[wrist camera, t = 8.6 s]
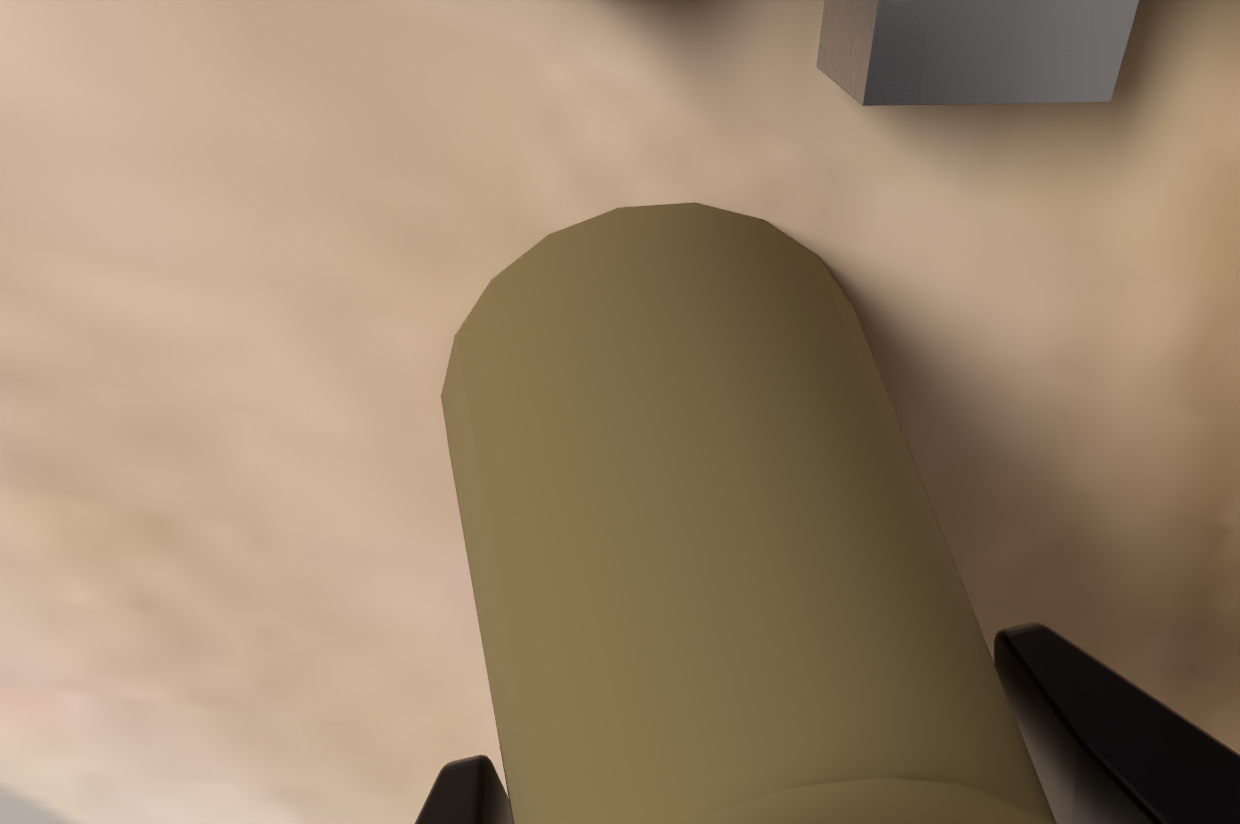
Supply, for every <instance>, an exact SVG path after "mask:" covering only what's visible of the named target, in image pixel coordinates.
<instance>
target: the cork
mask: <svg viewBox="0 0 1240 824" xmlns="http://www.w3.org/2000/svg"><path fill="white" fill-rule="evenodd" d="M441 398H442V405H443V412H444V418H445V425H446V432H447V438H448V445H449V452H450V458H451V464H452V470H453V475H454V481H455V487H456V493H457V499H458V504H459V510H460V516H461V522H462V528H463V534H464V539H465V545H466V551H467V557H468V563H469V569H470V574H471V580H472V586H473V592H474V598H475V604H476V609H477V615H478V621H479V627H480V633H481V638H482V644H483V650H484V656H485V662H486V668H487V673H488V679H489V685H490V691H491V697H492V703H493V708H494V714H495V720H496V726H497V732H498V738H499V743H500V749H501V755H502V761H503V767H504V772H505V778H506V784H507V790H508V796H509V802H510V807H511V813H512V819H513V824H1057V823H1056V821H1055V818H1054V815H1053V813H1052V810H1051V808H1050V805H1049V803H1048V800H1047V798H1046V795H1045V793H1044V790H1043V787H1042V785H1041V782H1040V780H1039V777H1038V775H1037V772H1036V770H1035V767H1034V765H1033V762H1032V759H1031V757H1030V754H1029V752H1028V749H1027V747H1026V744H1025V742H1024V739H1023V737H1022V734H1021V731H1020V729H1019V726H1018V724H1017V721H1016V719H1015V716H1014V714H1013V711H1012V709H1011V706H1010V703H1009V701H1008V698H1007V696H1006V693H1005V691H1004V688H1003V686H1002V683H1001V681H1000V678H999V675H998V673H997V670H996V668H995V665H994V663H993V660H992V658H991V655H990V652H989V650H988V647H987V645H986V642H985V640H984V637H983V635H982V632H981V630H980V627H979V624H978V622H977V619H976V617H975V614H974V612H973V609H972V607H971V604H970V602H969V599H968V596H967V594H966V591H965V589H964V586H963V584H962V581H961V579H960V576H959V574H958V571H957V568H956V566H955V563H954V561H953V558H952V556H951V553H950V551H949V548H948V546H947V543H946V540H945V538H944V535H943V533H942V530H941V528H940V525H939V523H938V520H937V518H936V515H935V512H934V510H933V507H932V505H931V502H930V500H929V497H928V495H927V492H926V490H925V487H924V484H923V482H922V479H921V477H920V474H919V472H918V469H917V467H916V464H915V462H914V459H913V456H912V454H911V451H910V449H909V446H908V444H907V441H906V439H905V436H904V434H903V431H902V428H901V426H900V423H899V421H898V418H897V416H896V413H895V411H894V408H893V406H892V403H891V400H890V398H889V395H888V393H887V390H886V388H885V385H884V383H883V380H882V378H881V375H880V372H879V370H878V367H877V365H876V362H875V360H874V357H873V355H872V352H871V350H870V347H869V344H868V342H867V339H866V337H865V334H864V332H863V329H862V327H861V324H860V322H859V319H858V316H857V314H856V311H855V309H854V306H853V304H852V303H851V302H850V300H849V299H848V297H847V296H846V295H845V293H844V292H843V290H842V289H841V288H840V286H839V285H838V283H837V282H836V281H835V279H834V278H833V276H832V275H831V274H830V272H829V271H828V269H827V268H826V267H825V265H824V264H823V262H822V261H821V260H820V258H819V257H818V256H817V255H815V254H814V253H812V252H811V251H809V250H808V249H806V248H805V247H803V246H802V245H800V244H799V243H797V242H796V241H794V240H793V239H791V238H790V237H788V236H787V235H785V234H784V233H782V232H781V231H779V230H778V229H776V228H775V227H773V226H771V225H770V224H768V223H767V222H765V221H764V220H761V219H757V218H753V217H749V216H745V215H741V214H737V213H733V212H729V211H725V210H721V209H717V208H713V207H709V206H705V205H701V204H697V203H684V204H669V205H655V206H640V207H625V208H618V209H615V210H612V211H610V212H607V213H604V214H602V215H599V216H597V217H594V218H591V219H589V220H586V221H584V222H581V223H578V224H576V225H573V226H571V227H568V228H565V229H563V230H560V231H557V232H555V233H552V234H550V235H548V236H547V237H545V238H544V239H543V240H541V241H540V242H539V243H538V244H536V245H535V246H534V247H533V248H531V249H530V250H529V251H528V252H526V253H525V254H524V255H522V256H521V257H520V258H519V259H517V260H516V261H515V262H514V263H512V264H511V265H510V266H509V267H507V268H506V269H505V270H504V271H502V272H501V273H500V274H498V275H497V276H496V277H495V278H493V279H492V280H491V282H490V283H489V285H488V286H487V288H486V289H485V291H484V292H483V294H482V295H481V297H480V298H479V300H478V302H477V303H476V305H475V306H474V308H473V309H472V311H471V312H470V314H469V315H468V317H467V318H466V320H465V321H464V323H463V325H462V326H461V328H460V329H459V331H458V332H457V334H456V335H455V338H454V342H453V347H452V351H451V355H450V360H449V364H448V368H447V373H446V377H445V382H444V386H443V390H442V395H441Z"/></svg>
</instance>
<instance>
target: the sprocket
mask: <svg viewBox="0 0 1240 824" xmlns="http://www.w3.org/2000/svg"><path fill="white" fill-rule="evenodd" d="M1138 3H1139V0H825V2H824V11H823V19H822V27H821V35H820V44H819V52H818V60H817V68H818V69H820V70H821V71H822V72H823V73H824V74H826V75H827V76H828V77H829V78H830V79H831V80H833V81H834V82H835V83H836V84H837V85H839V86H840V87H841V88H842V89H843V90H845V91H846V92H847V93H848V94H849V95H851V96H852V97H853V98H854V99H855V100H857V101H858V102H859V103H860V104H861V105H863V106H871V105H938V104H1005V103H1072V102H1111V98H1112V95H1113V91H1114V88H1115V84H1116V81H1117V77H1118V73H1119V70H1120V66H1121V63H1122V59H1123V56H1124V52H1125V49H1126V45H1127V42H1128V38H1129V35H1130V31H1131V28H1132V24H1133V21H1134V17H1135V14H1136V10H1137V7H1138Z"/></svg>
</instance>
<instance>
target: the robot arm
mask: <svg viewBox="0 0 1240 824" xmlns="http://www.w3.org/2000/svg"><path fill="white" fill-rule="evenodd" d="M994 665H995V668H996V670H997V673H998V675H999V678H1000V681H1001V683H1002V686H1003V688H1004V691H1005V693H1006V696H1007V698H1008V701H1009V703H1010V706H1011V709H1012V711H1013V714H1014V716H1015V719H1016V721H1017V724H1018V726H1019V729H1020V731H1021V734H1022V737H1023V739H1024V742H1025V744H1026V747H1027V749H1028V752H1029V754H1030V757H1031V759H1032V762H1033V765H1034V767H1035V770H1036V772H1037V775H1038V777H1039V780H1040V782H1041V785H1042V787H1043V790H1044V793H1045V795H1046V798H1047V800H1048V803H1049V805H1050V808H1051V810H1052V813H1053V815H1054V818H1055V821H1056V823H1057V824H1240V755H1239V754H1238V753H1236V752H1235V751H1233V750H1232V749H1230V748H1229V747H1227V746H1226V745H1224V744H1223V743H1221V742H1220V741H1218V740H1217V739H1215V738H1214V737H1212V736H1211V735H1209V734H1208V733H1206V732H1205V731H1203V730H1202V729H1200V728H1199V727H1197V726H1196V725H1194V724H1193V723H1192V722H1190V721H1189V720H1187V719H1186V718H1184V717H1183V716H1181V715H1180V714H1178V713H1177V712H1175V711H1174V710H1172V709H1171V708H1169V707H1168V706H1166V705H1165V704H1163V703H1162V702H1160V701H1159V700H1157V699H1156V698H1154V697H1153V696H1151V695H1150V694H1148V693H1147V692H1145V691H1144V690H1142V689H1141V688H1139V687H1138V686H1136V685H1135V684H1133V683H1132V682H1130V681H1129V680H1127V679H1126V678H1124V677H1123V676H1121V675H1120V674H1118V673H1117V672H1115V671H1114V670H1112V669H1111V668H1109V667H1108V666H1106V665H1105V664H1103V663H1102V662H1100V661H1099V660H1097V659H1096V658H1095V657H1093V656H1092V655H1090V654H1089V653H1087V652H1086V651H1084V650H1083V649H1081V648H1080V647H1078V646H1077V645H1075V644H1074V643H1072V642H1071V641H1069V640H1068V639H1066V638H1065V637H1063V636H1062V635H1060V634H1059V633H1057V632H1056V631H1054V630H1053V629H1051V628H1050V627H1048V626H1046V625H1044V624H1041V623H1037V622H1034V623H1028V624H1023V625H1019V626H1015V627H1011V628H1007V629H1003V630H1001V631H999V632H998V633H997V634H996V636H995V640H994ZM415 824H513V819H512V813H511V807H510V802H509V798H508V796H507V794H506V792H505V790H504V787H503V785H502V783H501V781H500V779H499V777H498V774H497V772H496V770H495V768H494V766H493V764H492V762H491V760H490V759H489V758H488V757H487V756H485V755H477V756H473V757H469V758H464V759H460V760H456V761H452V762H450V763H447V764H446V765H445V766H444V767H443V768H442V769H441V771H440V773H439V775H438V777H437V779H436V781H435V783H434V785H433V787H432V789H431V791H430V793H429V795H428V797H427V800H426V802H425V804H424V806H423V808H422V810H421V812H420V814H419V816H418V818H417V820H416V822H415Z"/></svg>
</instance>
